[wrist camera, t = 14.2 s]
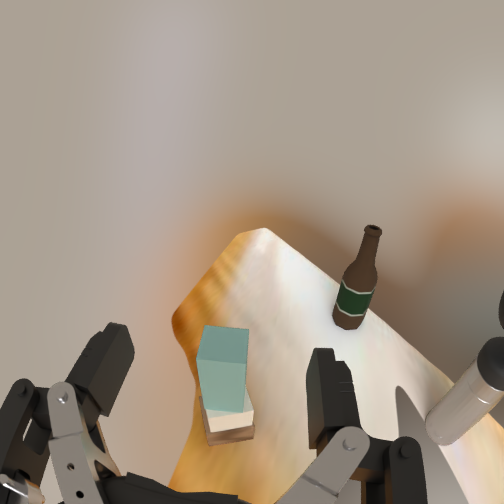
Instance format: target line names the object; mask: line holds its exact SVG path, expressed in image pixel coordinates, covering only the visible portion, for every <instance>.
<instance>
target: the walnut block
mask: <svg viewBox="0 0 504 504" xmlns="http://www.w3.org/2000/svg"><path fill="white" fill-rule="evenodd" d="M199 400H200V406H201V411H202V416H203V421H204V426H205V431H206V436H207V440H208V444H209V446H214V445H221V444H227V443H233V442H239V441H244V440H250V439H253V436H254V429H255V426H254V423H253V421H252V425H250V426H245V427H240V428H235V429H229V430H224V431H217V432H211V431H210V427H209V423H208V418H207V414H206V409H204V404H203V398H202V396H200V397H199Z"/></svg>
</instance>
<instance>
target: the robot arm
mask: <svg viewBox="0 0 504 504" xmlns="http://www.w3.org/2000/svg"><path fill="white" fill-rule="evenodd" d="M499 320H500V324H501V326H502V328H503V329H504V291H503V294H502V297H501V300H500V304H499ZM134 353H135V352H134V346H133V343H132V340H131V338H130V334H129V332H128V328H127V326H126V325H122V324H117V323H112V322H110V323H109V324H108V325H107V326H106V328H105V329H104V331H103V332H100V331H99V332H98V333H97V334H95V335H94V336H93V337H92V338H91V339H90V340H89V342H88V344H87V345H86V348H85V349H84V350H83V352H82V353H81V355H80V357H79V358H78V360H77V362H76V363H75V365H74V367H73V368H72V370H71V372H70V374H69V375H68V377H67V379H66V380H65V381H64V382H58V383H56V384H54V385H53V386H52V387H51V388H41V387H35V386H34V385H33V384H32V382H31V381H30V380H28V379H19V380H17V381H16V382H15V383H14V384H13V386H12V387H11V390H10V391H9V393H8V395H7V397H6V399H5V401H4V403H3V405H2V407H1V409H0V504H43V503H44V502H45V498H44V496H43V495H42V493H41V490H40V484H41V481H42V478H43V474H44V471H45V468H46V465H47V462H48V459H49V456H50V454H51V459H52V463H53V467H54V470H55V474H56V478H57V481H58V485H59V488H60V491H61V494H62V497H63V500H64V501H62V502H60V503H58V504H251V503H248V502H246V501H244V500H240V499H238V495H230V494H221V493H214V492H190V493H181V492H177V491H174V490H172V489H170V488H168V487H166V486H164V485H162V484H160V483H158V482H156V481H154V480H153V479H149V478H145V477H142V476H139V475H136V474H133V473H130V472H127V476H121V474H120V472H119V470H118V468H117V466H116V464H115V463H114V461H113V460H112V458H111V456H110V454H109V451H108V448H107V446H106V443H105V440H104V437H103V434H102V431H101V428H100V424H99V421H98V417H99V415H100V414H101V415H104V416H107V417H108V416H109V414H110V412H111V409H112V407H113V404H114V402H115V400H116V397H117V395H118V393H119V391H120V388H121V386H122V384H123V381H124V379H125V377H126V375H127V372H128V371H129V368H130V366H131V364H132V362H133V359H134ZM352 382H353V380H352V375H351V371H350V369H349V368H348V366H347V365H346V363H345V362H344V361H335V355H334V350H333V349H332V348H314V350H313V353H312V356H311V360H310V363H309V366H308V369H307V374H306V392H307V410H308V433H309V449H317V457H316V459H315V460H314V461H313V462H312V463H311V465H310V466H309V467H308V468H307V469H306V470H305V472H304V473H303V474H302V475H301V476H300V477H299V478H298V479H297V481H296V482H295V483H294V484H293V485H292V486H291V487H290V488H289V489H288V490H287V491H286V492H285V493H284V494H283V495H282V496H281V497H280V498H279V499H278V500H277V501H276V502H275V503H274V504H334V503H335V501H336V500H337V498H338V494H339V492H340V490H341V489H342V488H343V486H344V485H345V484H346V482H347V481H348V479H352V480H357V481H361V504H428V502H427V491H426V481H425V473H424V466H423V459H422V453H421V448H420V445H419V443H418V442H417V441H416V440H415V439H413V438H411V437H407V436H406V437H400V438H398V439H396V440H395V441H388V440H382V439H376V438H373V437H371V436H369V435H368V434H367V433H366V432H365V431H364V430H363V429H362V427H361V424H360V419H359V413H358V407H357V402H356V396H355V392H354V386H353V383H352ZM503 397H504V337H495V338H492V339H490V340H489V341H487V343H485V345H484V346H483V348H482V349H481V350H480V352H479V353H478V355H477V356H476V357H475V359H474V360H473V362H472V363H471V364H470V366H469V367H468V368H467V370H466V371H465V372H464V374H463V375H462V376H461V377H460V379H459V380H458V381H457V382H456V383H455V385H454V386H453V387H452V388H451V389H450V391H449V392H448V393H447V394H446V395H445V396H444V397H443V398H442V400H441V401H440V402H439V403H438V404H437V405H436V406H435V407H434V408H433V409H432V410H431V411H430V412H429V414H428V415H427V418H426V422H425V427H426V432H427V434H428V436H429V437H430V439H431V440H432V441H434V442H435V443H437V444H439V445H449V444H452V443H453V442H455V441H456V440H457V439H459V438H460V437H461V436H462V435H463V434H465V433H466V432H467V431H468V430H469V429H471V428H472V427H473V426H474V425H475V424H476V423H477V422H479V421H480V420H481V419H482V418H483V417H484V416H485V415H486V414H487V413H488V412H489V411H490V410H491V409H492V408H493V407H494V406H495V405H496V404H497V403H498V402H499V401H500V400H501V399H502V398H503ZM30 418H31V419H32V422H31V424H30V427H29V429H28V431H27V434H26V436H25V439H24V441H23V434H24V432H25V430H26V427H27V425H28V423H29V420H30Z"/></svg>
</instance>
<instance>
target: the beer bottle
mask: <svg viewBox="0 0 504 504" xmlns="http://www.w3.org/2000/svg"><path fill="white" fill-rule="evenodd" d="M364 231H365V234H364V237H363V241H362V244H361V247H360V250H359V253H358V255H357V258H356V260H355V261H354V262H353V263H352V264H350V266H349V267H348V268H347V269H346V271H345V272H344V275H343V278H342V281H341V285H340V289H339V292H338V296H337V299H336V303H335V306H334V310H333V314H332V316H333V319H334V322H335V324H336V325H337V326H339V327H341V328H343V329H345V330H352V329H357V328H358V327H359V326H360V324H361V323H362V321H363V319H364V317H365V314H366V312H367V309H368V306H369V303H370V301H371V298H372V295H373V292H374V290H375V287H376V283H377V271H376V268H375V257H376V252H377V247H378V243H379V237H380V236H381V235H382V230H381V229H380V228H379V227H377V226H375V225H367V226H366V227H365V229H364Z"/></svg>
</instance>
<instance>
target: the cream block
mask: <svg viewBox="0 0 504 504" xmlns="http://www.w3.org/2000/svg"><path fill="white" fill-rule="evenodd" d="M253 413H254V409H253V406H252V403H251V400H250V398H249V395H248V392H247V389H246V386H245V396H244V408H243V413H236V412H226V411H217V410H209V409H206V414H207V418H208V423H209V427H210V431H211V432H217V431H224V430H229V429H235V428H240V427H245V426H250V425H252V421H253Z"/></svg>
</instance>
